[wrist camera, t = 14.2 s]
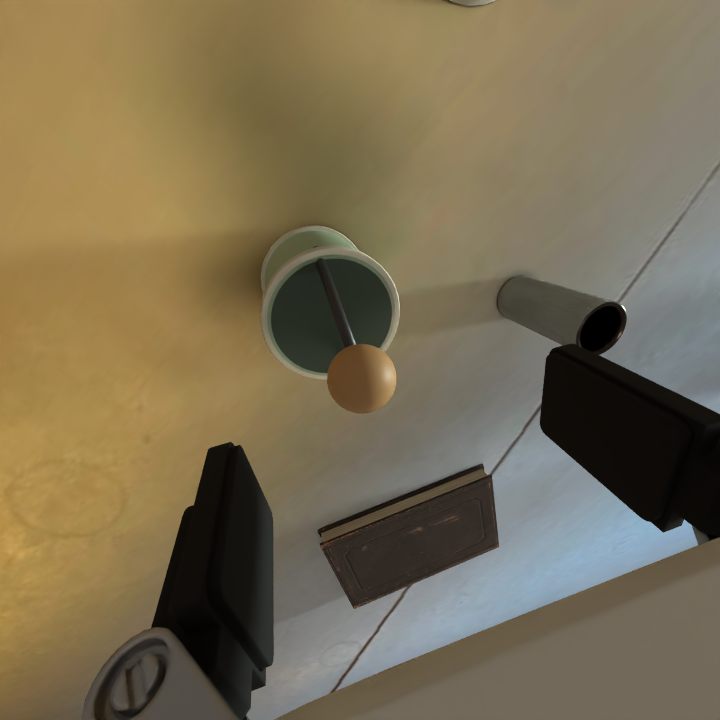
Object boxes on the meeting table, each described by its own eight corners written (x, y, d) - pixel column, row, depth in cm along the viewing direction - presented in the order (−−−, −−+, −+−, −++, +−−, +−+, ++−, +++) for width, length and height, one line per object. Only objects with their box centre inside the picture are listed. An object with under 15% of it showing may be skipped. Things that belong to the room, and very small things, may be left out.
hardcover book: (317, 529, 42) (320, 546, 40) (482, 463, 44) (492, 476, 42) (351, 594, 50) (355, 611, 48) (490, 535, 52) (499, 549, 50)
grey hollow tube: (500, 325, 36) (578, 366, 27) (492, 286, 34) (574, 317, 25) (537, 306, 36) (627, 341, 27) (532, 267, 34) (628, 291, 25)
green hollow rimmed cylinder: (278, 339, 31) (245, 238, 26) (371, 315, 32) (356, 214, 27) (294, 498, 16) (224, 331, 11) (467, 441, 17) (469, 270, 12)
